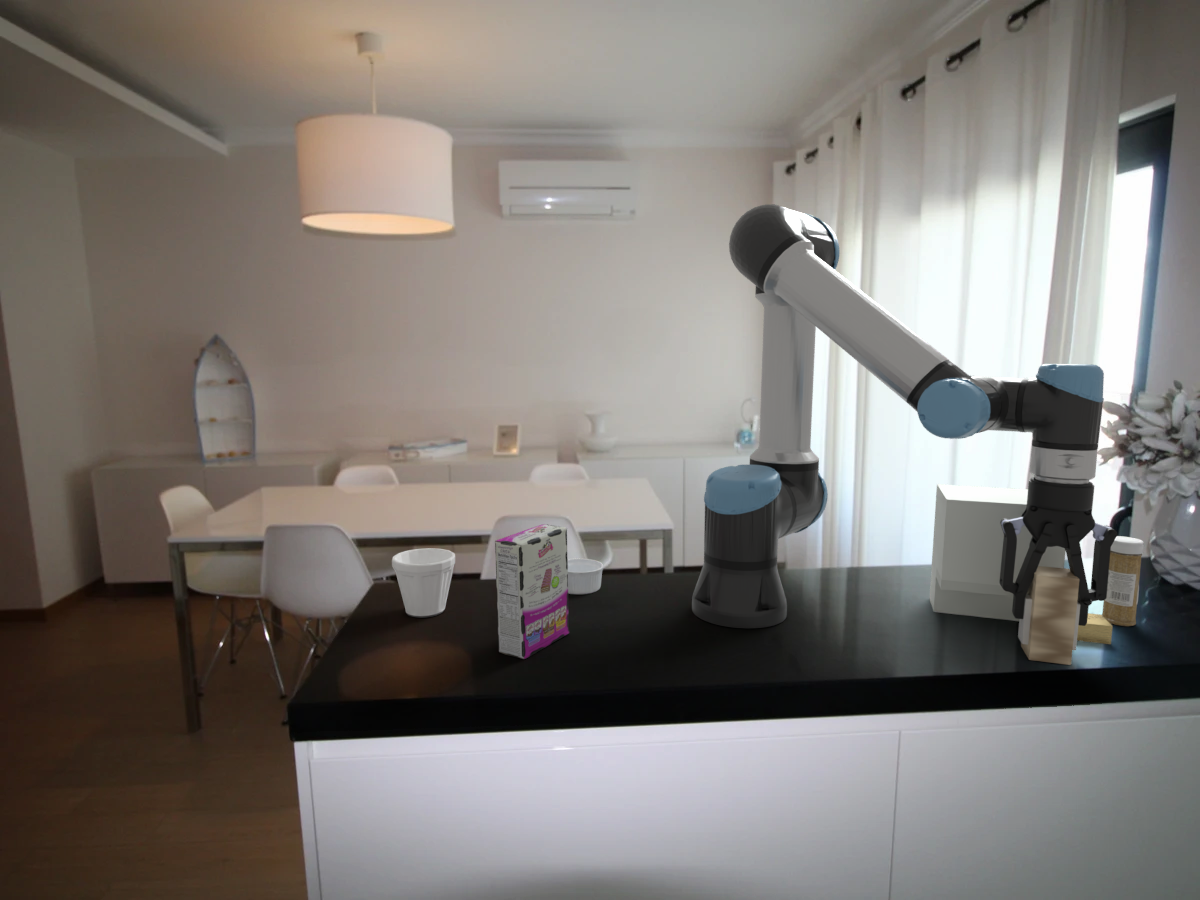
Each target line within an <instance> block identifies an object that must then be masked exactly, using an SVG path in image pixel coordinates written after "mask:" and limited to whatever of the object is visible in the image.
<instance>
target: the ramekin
mask: <svg viewBox="0 0 1200 900" xmlns="http://www.w3.org/2000/svg"><path fill="white" fill-rule="evenodd" d="M567 560H568V595H569V594H570V595H589V594H592V593H596V592H597V591H599V590H600V589H601V586H602V576H603V575H602V574H603V571H604V564H603V563H602V562H601V561H598V560H595V559H591V558H580V557H579V558H577V557H576V558H567Z"/></svg>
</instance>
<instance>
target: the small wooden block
mask: <svg viewBox="0 0 1200 900" xmlns="http://www.w3.org/2000/svg"><path fill="white" fill-rule="evenodd" d="M1112 636H1113V624H1111V623H1109V622H1108V621H1107V620H1106V619H1105V618H1104V617H1103V616H1102V614H1099V613H1089V612H1088V618H1087V623H1086V625H1085V626H1082V625H1078V635H1077V642H1078V641H1079V642H1086V643H1093V644H1094V643H1095V644H1103V645H1111V644H1112Z"/></svg>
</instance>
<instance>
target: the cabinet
mask: <svg viewBox="0 0 1200 900" xmlns="http://www.w3.org/2000/svg"><path fill="white" fill-rule="evenodd" d="M935 495H936V496H935V510H934V524H933V539H932V542H933V543H932V555H931V567H930V568H931V569H930V570H931V573H930V584H929V585H930V587H929V602H930V604H931V605H930V606H931V608H932V611H933V612H934V613H941V614H952V615H959V616H967V617H978V618H987V619H995V620H1006V621H1015V622H1019V620H1020V619H1017V618H1015V617H1014V615H1013V613H1012V606H1013V593H1010V592H1007V591H1004V590H1003V588H1002V587H1001V585H1000V583H999V581H1000V570H1001V560H1002V550H1003V539H1004V533H1003V530H1002V527H1001V524H1000V521H1001V520H1002V519H1004V518H1006V519H1008V520H1010V519H1015V518H1019V517H1021V516H1022V514H1023V513H1024V511H1025V510H1026V507H1027V496H1028V488H1011V487H1010V488H1009V487H996V486H995V487H993V486H975V485H974V486H973V485H957V484H939V483H936V493H935ZM1016 536H1017V546H1016V556H1015V566H1014V577H1013V583H1015V582H1016V579H1017V577H1018V574H1019V572H1020V569H1021V567H1022V564H1023V562H1024V559H1025V556H1026V554H1027V551H1028V549H1029V544H1030V541H1031V539H1032V535H1031V533H1030V532H1029V531H1028V529H1027V528H1026V526H1025V525H1024V526H1022V527H1021V532H1020V534H1018V535H1016ZM1065 561H1066V550H1065V548H1062V547H1059V546H1053V547H1047V548H1046V551H1045V553H1044V554H1043V555H1042V557H1041V560H1040V562H1039V565H1038V566H1043V567H1055V568H1065Z"/></svg>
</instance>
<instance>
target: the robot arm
mask: <svg viewBox="0 0 1200 900" xmlns="http://www.w3.org/2000/svg"><path fill="white" fill-rule="evenodd" d="M735 222H736V223H735V224H734V226H733V228H732V230H731V233H730V236H729V242H728V243H729V244H728V247H729V249H728V250H729V256H730V259H731V261H732V263H733V265H734V267H735V268H736V269H737V270H738V272H739V273H740V274H742V276H743V277H744V278H746V279H747V280H749V281H750V282H751V283H752V284H754V286H755V297H754V298H756V300H757V301H759V302H760V304H761V305H762V306H763V324H762V325H763V328H762V329H763V330H762V332H763V333H762V354H761V355H762V356H761V357H762V359H761V382H760V383H761V386H760V413H759V436H758V437H759V438H758V439H759V442H758V447H757V448H756V449H755V450H754V451H753V452H752V453H751V454H750V455H749V464H738V465H736V466H734V465H729V466H725V467H720V468H719V469H718V468H717V469H715V470H714V471H713V472H711V473H710V474H709V476H708V477H707V479H706V482H705V483H706V484H705V490H704V491H705V492H704V496H703V502H704V536H703V537H704V539H703V541H704V542H703V564H702V565H703V566H702V567H701V570H700V574H699V576H698V578H697V579H698V580H697V582H696V584H695V587H694V590H693V593H692V597H691V599H692V600H691V611H692V613H693V614H694V616H695V617H697V618H698V619H701V620H703V621H705V622H706V623H707V622H708V623H711V624H714V625H716V626H717V625H718V626H721V627H727V628H736V629H763V628H768V627H773V626H776V625H778V624H782V622H784V621H785V620H786V618H787V615H788V603H787V601H788V600H787V598H786V594H785V591H784V588H783V585H782V584H783V583H782V581H781V578H780V574H779V570H778V549H779V539H781V538H784V537H787V536H789V535H792V534H797V533H799V532H802V531H805V530H806V529H808V528H809V527H810V526H812V525H813V524H815V523H816V522H817V521H819V519H820V518H821V516H822V515H823V513H824V512H825V510H826V507H827V505H828V503H827V502H828V489H827V488H828V487H827V484H826V481H825V479H824V478H823V477H822V476H821V474H820V472H819V468H820V467H819V465H820V458H819V457H818V455H817V454H815V452H814V451H813V450H812V449H811V444H812V443H811V442H812V441H811V439H812V421H813V420H812V419H813V418H812V417H813V416H812V415H813V397H814V394H813V393H814V376H815V375H814V374H815V373H814V371H815V350H816V349H815V348H816V330H817V329H819V330H820V331H821V332H822V333H823V334H824V335H826V336H827V337H828V338H829V339H830V340H832V342H834V343H835V344H836V345H838V346H839V347H840V348H841V349H842V350H844V352H846V353H847V354H848V355H849V356H851V357H852V358H853V359H854V360H855V361H856V362H858V363H859V364H860V365H861V366H863V367H864V368H865V369H866V370H867V371H868V372H870V373H871V374H872V375H873V376H875V377H876V378H877V379H878V380H879V381H880V382H881V383H883V384H884V385H885V386H886V387H887V388H889V389H890V390H891V391H892V392H894V393H895V394H896V395H897V396H898V397H899V398H900V399H901V400H903V401H904V402H905V403H907V405H909V406H911V408H912V409H913V410H915V412H917V415H918V418H919V421H920V423H921V425H922V426H923V428H924V429H925V430H926V431H927V432H928V433H930V434H931V435H934V436H936V437H939V438H942V439H950V440H951V439H952V440H953V439H956V440H957V439H960V440H961V439H967V438H968V437H973V436H974V435H976V434H979V433H982V432H986V431H997V432H1018V433H1032V440H1031V451H1030V452H1031V453H1030V462H1029V463H1030V465H1029V474H1031V475H1033V477H1031V478H1030V479H1029V480H1028V486H1027V487H1028V488H1027V489H1028V496H1027V507H1026V510H1025V511H1024V513H1023V514H1022V516H1021V517H1019V518H1015V519H1010V520H1008V519H1006V518H1004V519H1002V520H1001V521H1000V524H1001V527H1002V530H1003V533H1004V539H1003V550H1002V560H1001V570H1000V581H999V583H1000V585H1001V587H1002V588H1003V590H1004V591H1007V592H1010V593H1013V606H1012V613H1013V615H1014V617H1015V618H1017V619H1020V620H1019V621H1018V622H1019V623H1018V633H1017V634H1018V635H1017V638H1018V640H1019V642H1020V644H1021V643H1022V644H1026V645H1028V641H1029V630H1030V619H1031V607H1032V599H1031V597H1030V596H1029V595H1028V593H1027V592H1028V590H1029V587H1030V585H1031V582H1032V580H1033V577H1034V573H1035V572H1036V570H1037V567H1038V565H1039V562H1040V560H1041V557H1042V555H1043V554H1044V553H1045V551H1046V548H1047V547H1053V546H1059V547H1062V548H1065V550H1066V551H1065V555H1066V558H1067V562H1068V569H1070V572H1071V573H1072V574H1073V575H1074V576H1077V577H1078V578H1079V589H1078V599H1077V610H1076V620H1075V630H1074V640H1073V650H1072V651H1077V645H1078V641H1077V635H1078V625H1082V626H1085V625H1086V623H1087V618H1088V613H1089V606H1091V605H1092V603H1093V602H1096V601H1101V602H1102V601H1103V602H1104V600H1105V599H1106V597H1107V586H1108V574H1109V562H1110V550H1111V546H1112V544H1113V542H1114V540H1115V538H1116V536H1118V532H1117V530H1116V529H1114V528H1112V527H1111V526H1109V525H1107V524H1106V525H1102V524H1100V523H1097V522H1096V521H1095V519H1094V517H1093V504H1094V494H1095V484H1093V482H1091V481H1090V480H1093V479H1095V477H1096V470H1097V460H1098V449H1099V440H1100V431H1101V423H1102V416H1103V415H1102V414H1103V407H1104V401H1105V399H1104V382H1105V381H1104V378H1105V374H1104V373H1105V372H1104V370H1103V369H1102V368H1101V367H1100V366H1099V365H1097V364H1088V363H1043V364H1041V365H1040V366H1038V369H1037V373H1036V374H1035V377H1033V376H1031V377H1023V378H1022V377H1002V376H1001V377H1000V376H999V377H998V376H975V375H969V374H968V373H967V372H965V371H964V370H963V369H961V368H960V367H959V366H958V365H956V364H955V363H953V362H952V361H950V359H949V358H948V357H946V356H945V355H943V354H942V353H941V352H940V351H939V350H937V349H936V348H935V347H933V346H932V345H931V344H929V343H928V342H927V341H926V340H925V339H923V338H922V337H921V336H919V335H918V334H917V333H916V332H914V331H913V330H912V329H910V328H909V327H908V326H907V325H905V324H904V323H903V322H901V321H900V319H898V318H896V317H895V316H894V315H893V314H891V313H890V312H889V311H888V310H886V309H885V308H884V307H883V306H881V305H880V304H879V303H878V302H876V301H875V300H874V299H872V297H870V296H868V295H867V294H866V293H864V291H862V290H861V289H860V288H858V287H857V286H856V285H854V284H853V283H852V282H851V281H849V280H848V279H847V278H845V277H844V276H843V275H842V274H840V273H839V272H838V271H837V267H838V265H839V259H840V245H839V244H840V243H839V240H838V238H837V235H836V233H835V232H834V230H833V229H832V227H830V225H828V224H827V223H826V222H824V221H823V220H821V219H820V218H819V217H817V216H814V215H812V214H809V213H806V212H805V213H803V212H800V211H796V210H793V209H790V208H787V207H785V206H782V205H779V204H769V203H766V204H762V205H758V206H755V207H753V208H750V209H749V210H747V211H746V212H745V213H744V214H743V215H741V216H740V218H738V220H737V221H735ZM816 328H817V329H816ZM1024 525H1025V526H1026V528H1027V529H1028V531H1029V532H1030V533H1031V535H1032V539H1031V541H1030V544H1029V549H1028V551H1027V554H1026V556H1025V559H1024V562H1023V564H1022V567H1021V569H1020V572H1019V574H1018V577H1017V579H1016V582H1015V583H1013V577H1014V566H1015V556H1016V546H1017V536H1016V535H1018V534H1020V532H1021V527H1022V526H1024ZM1091 531H1092V538H1093V539H1094V544H1093V545H1094V546H1093V558H1092V568H1091V569H1092V570H1091V582H1090V588H1089V585H1088V581H1087V575H1086V572H1085V567H1084V566H1085V565H1084V562H1083V558H1082V555H1083V554H1082V548H1081V543H1080V542H1082V540H1083V539H1085V537H1086V536H1088V534H1090V533H1091Z"/></svg>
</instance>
